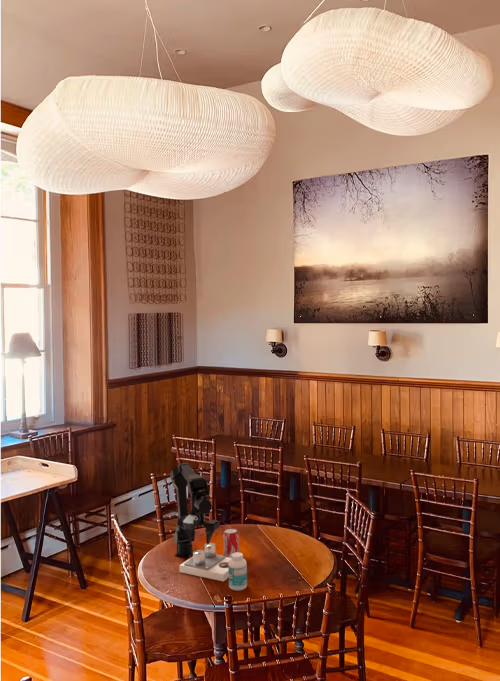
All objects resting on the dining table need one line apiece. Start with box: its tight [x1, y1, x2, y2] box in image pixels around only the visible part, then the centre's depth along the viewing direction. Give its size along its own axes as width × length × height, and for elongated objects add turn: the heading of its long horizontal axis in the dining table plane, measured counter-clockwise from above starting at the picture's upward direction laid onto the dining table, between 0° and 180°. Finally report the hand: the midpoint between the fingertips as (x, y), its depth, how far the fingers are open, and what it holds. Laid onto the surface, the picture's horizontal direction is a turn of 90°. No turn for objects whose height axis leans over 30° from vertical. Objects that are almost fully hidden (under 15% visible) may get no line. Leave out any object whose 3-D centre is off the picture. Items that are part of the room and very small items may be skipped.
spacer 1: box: [192, 549, 205, 566], centre depth 262 cm, size 5×5×5 cm
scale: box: [179, 553, 232, 582], centre depth 265 cm, size 22×16×4 cm
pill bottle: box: [228, 551, 248, 591], centre depth 247 cm, size 8×7×14 cm
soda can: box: [222, 528, 240, 558], centre depth 278 cm, size 7×7×12 cm
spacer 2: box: [203, 542, 217, 558], centre depth 270 cm, size 5×5×5 cm
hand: (198, 542), depth 262 cm, fingers open, 9 cm apart
